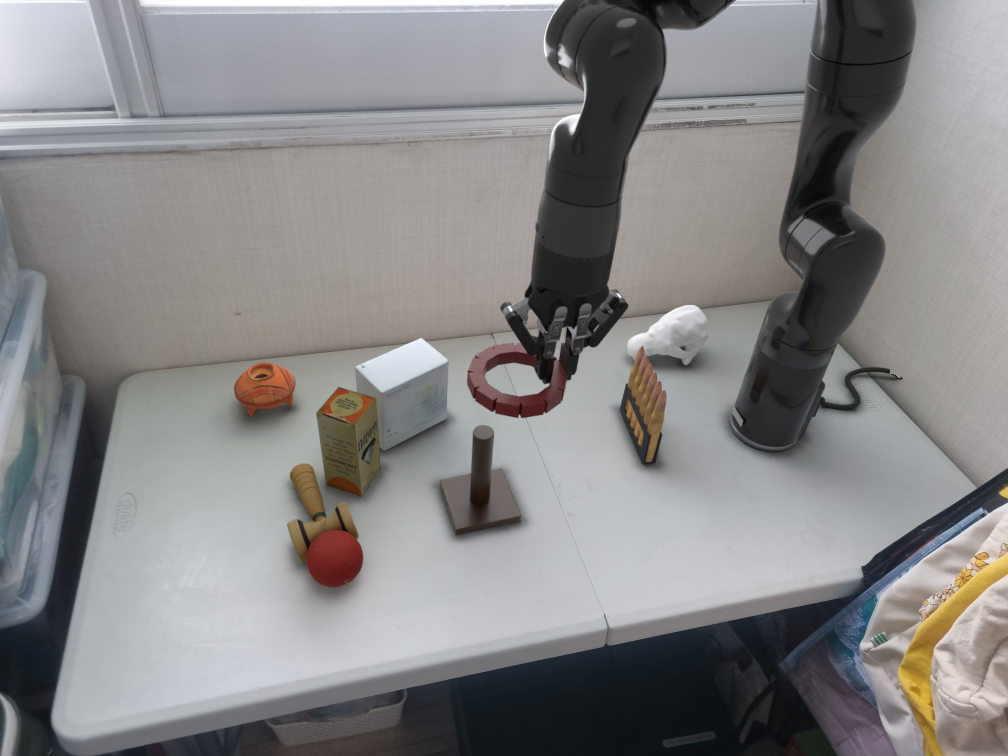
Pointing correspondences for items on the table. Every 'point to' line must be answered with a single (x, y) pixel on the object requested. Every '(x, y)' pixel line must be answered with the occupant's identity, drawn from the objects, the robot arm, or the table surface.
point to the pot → (264, 387)
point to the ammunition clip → (644, 408)
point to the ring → (508, 402)
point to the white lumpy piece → (673, 335)
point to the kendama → (324, 534)
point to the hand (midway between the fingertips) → (554, 377)
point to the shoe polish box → (349, 440)
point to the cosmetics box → (405, 390)
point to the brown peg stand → (480, 490)
